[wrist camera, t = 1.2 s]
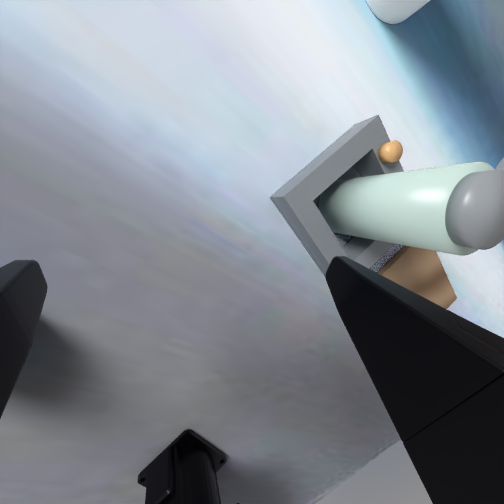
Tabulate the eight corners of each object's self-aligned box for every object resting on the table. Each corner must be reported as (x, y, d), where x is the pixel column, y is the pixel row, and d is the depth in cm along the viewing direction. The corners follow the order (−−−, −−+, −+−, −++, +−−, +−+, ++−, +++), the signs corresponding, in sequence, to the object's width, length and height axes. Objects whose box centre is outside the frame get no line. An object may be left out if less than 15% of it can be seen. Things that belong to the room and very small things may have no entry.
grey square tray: (398, 214, 28) (433, 216, 25) (328, 281, 27) (353, 293, 23) (354, 124, 24) (387, 110, 21) (269, 197, 23) (289, 196, 19)
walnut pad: (450, 296, 34) (456, 298, 33) (392, 356, 33) (397, 360, 32) (420, 230, 30) (426, 231, 29) (352, 296, 28) (356, 299, 28)
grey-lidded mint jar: (369, 210, 27) (532, 217, 15) (334, 243, 26) (474, 278, 14) (347, 168, 25) (511, 137, 13) (308, 202, 24) (444, 202, 12)
